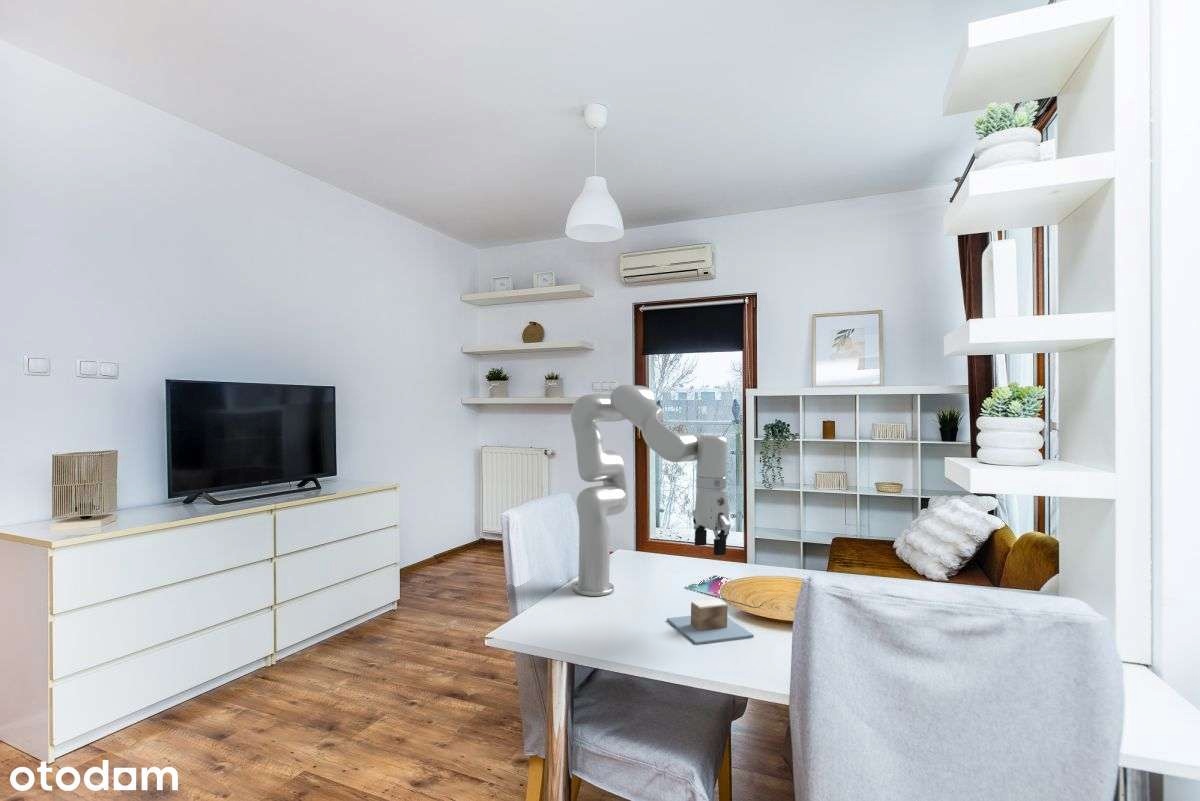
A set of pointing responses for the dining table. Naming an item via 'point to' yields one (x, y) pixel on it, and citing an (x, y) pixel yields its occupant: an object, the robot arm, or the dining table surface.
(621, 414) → the robot arm
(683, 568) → the dining table surface
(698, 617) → the block
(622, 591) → the dining table surface
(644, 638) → the dining table surface
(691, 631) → the mat
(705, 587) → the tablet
